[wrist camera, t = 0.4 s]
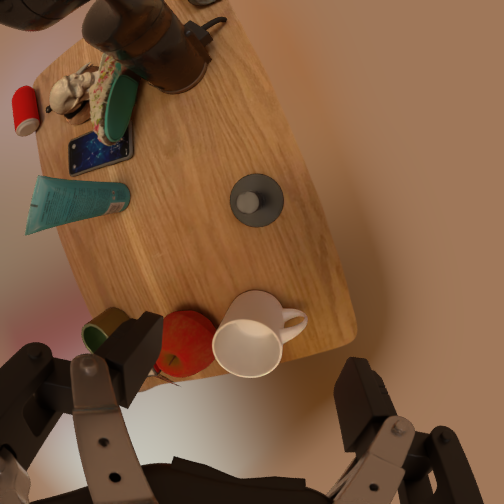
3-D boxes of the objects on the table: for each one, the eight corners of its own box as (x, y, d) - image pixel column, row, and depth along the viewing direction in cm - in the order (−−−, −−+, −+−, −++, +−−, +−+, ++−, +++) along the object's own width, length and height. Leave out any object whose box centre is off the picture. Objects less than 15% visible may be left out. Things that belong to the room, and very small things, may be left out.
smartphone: (67, 140, 40) (130, 115, 38) (70, 141, 41) (133, 116, 39) (68, 178, 41) (131, 158, 39) (71, 178, 42) (134, 158, 40)
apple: (171, 294, 44) (140, 321, 34) (230, 315, 43) (213, 350, 33) (162, 343, 46) (136, 375, 36) (216, 364, 46) (198, 402, 36)
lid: (258, 163, 38) (249, 155, 29) (294, 202, 38) (295, 205, 30) (221, 198, 40) (201, 200, 31) (255, 236, 40) (245, 249, 31)
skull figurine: (97, 51, 35) (79, 60, 29) (123, 87, 43) (110, 103, 37) (54, 87, 37) (32, 104, 31) (80, 120, 45) (63, 141, 39)
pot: (114, 300, 46) (91, 316, 39) (139, 329, 47) (119, 348, 39) (98, 319, 48) (76, 336, 40) (122, 346, 48) (102, 365, 41)
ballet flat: (130, 153, 38) (93, 155, 39) (166, 35, 37) (130, 41, 38) (96, 135, 29) (58, 140, 30) (146, 5, 28) (108, 16, 29)
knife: (87, 57, 35) (89, 62, 36) (89, 58, 36) (92, 63, 36) (44, 107, 40) (46, 113, 40) (47, 108, 40) (48, 114, 40)
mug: (311, 328, 42) (316, 367, 31) (238, 342, 44) (224, 381, 34) (299, 277, 40) (302, 306, 30) (222, 295, 43) (202, 325, 32)
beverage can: (31, 139, 42) (24, 103, 41) (45, 121, 41) (39, 85, 39) (11, 138, 36) (7, 99, 35) (25, 118, 35) (20, 80, 33)
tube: (115, 172, 41) (27, 169, 22) (136, 181, 41) (48, 181, 22) (103, 213, 43) (17, 229, 24) (123, 223, 43) (37, 245, 24)
